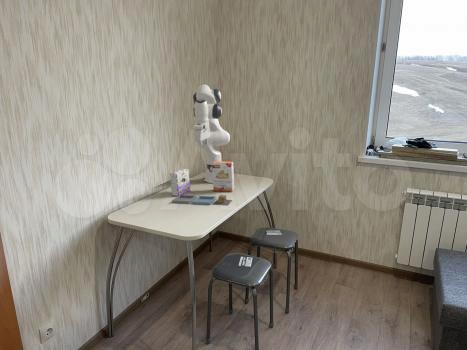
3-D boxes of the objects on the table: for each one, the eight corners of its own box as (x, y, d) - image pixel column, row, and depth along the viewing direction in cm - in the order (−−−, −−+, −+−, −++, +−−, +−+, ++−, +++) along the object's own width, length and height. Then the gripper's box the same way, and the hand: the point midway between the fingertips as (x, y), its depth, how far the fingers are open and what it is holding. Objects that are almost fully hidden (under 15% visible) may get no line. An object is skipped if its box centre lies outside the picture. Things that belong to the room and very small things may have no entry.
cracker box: (213, 191, 246) (211, 162, 241) (215, 189, 252) (214, 160, 247) (232, 192, 243) (231, 163, 238) (234, 189, 249) (233, 161, 243)
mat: (217, 200, 227) (217, 199, 227) (232, 201, 225) (232, 199, 225) (212, 205, 218) (212, 204, 218) (228, 206, 215) (227, 205, 215)
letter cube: (220, 200, 224) (220, 194, 223) (226, 201, 223) (226, 195, 222) (218, 202, 220) (218, 196, 219) (224, 203, 219) (224, 197, 218)
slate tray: (199, 198, 232) (199, 195, 231) (216, 199, 229) (216, 196, 228) (192, 204, 221) (192, 201, 220) (210, 205, 217) (210, 202, 217)
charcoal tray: (180, 197, 236) (179, 194, 235) (196, 198, 232) (196, 195, 232) (172, 203, 224) (172, 200, 224) (189, 204, 221) (189, 201, 221)
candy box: (184, 190, 252) (182, 168, 248) (190, 191, 249) (189, 169, 245) (171, 195, 241) (169, 172, 236) (178, 196, 238) (176, 173, 233)
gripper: (203, 123, 237) (204, 143, 241) (191, 127, 218) (193, 148, 222) (212, 123, 235) (213, 143, 239) (201, 127, 216) (202, 149, 220)
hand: (203, 146), depth 230 cm, fingers open, 8 cm apart
